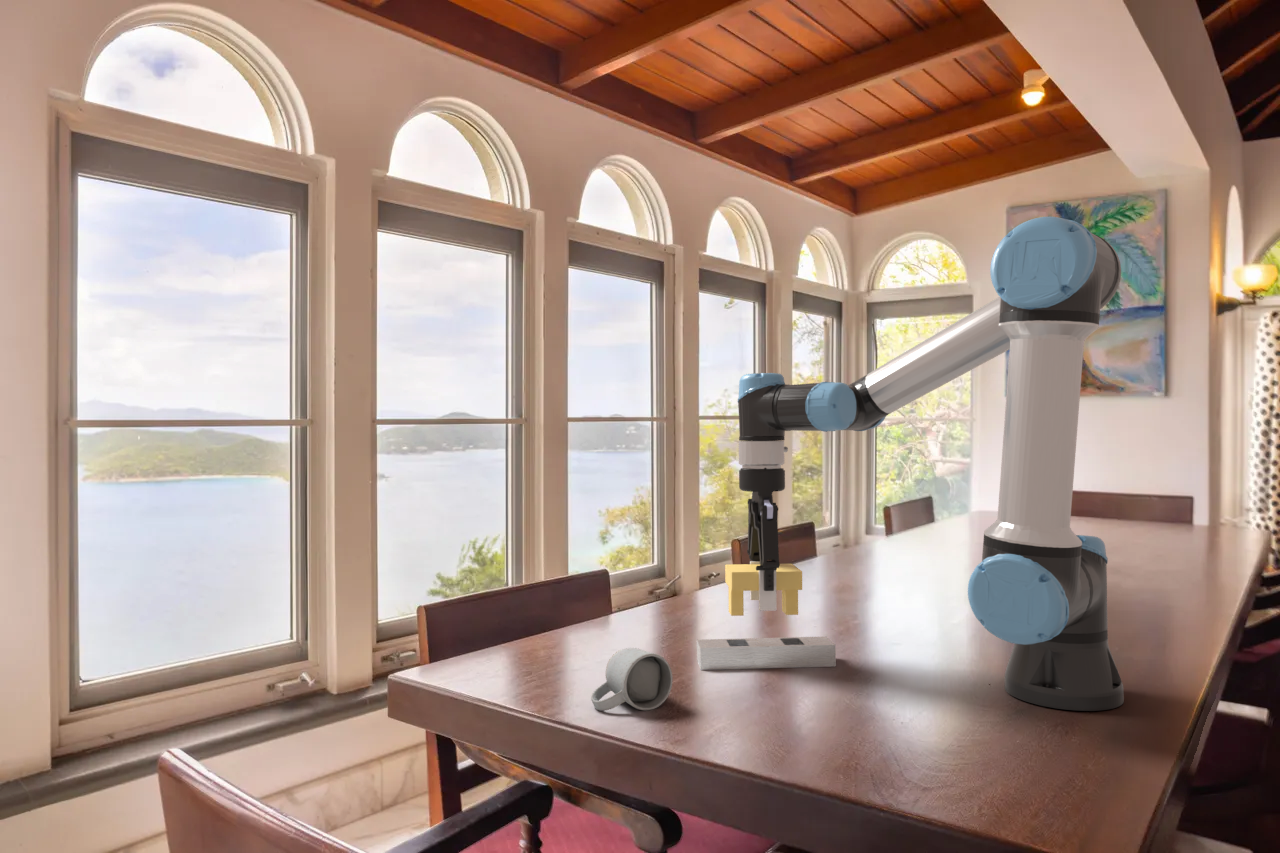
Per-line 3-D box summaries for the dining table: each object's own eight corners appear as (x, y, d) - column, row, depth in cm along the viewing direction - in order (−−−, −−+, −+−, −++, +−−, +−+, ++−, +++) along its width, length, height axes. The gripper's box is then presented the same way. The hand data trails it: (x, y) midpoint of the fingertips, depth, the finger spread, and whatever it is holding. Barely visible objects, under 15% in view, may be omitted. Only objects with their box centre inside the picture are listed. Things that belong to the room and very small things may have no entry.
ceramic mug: (646, 690, 124) (645, 638, 124) (674, 705, 117) (672, 650, 117) (581, 703, 119) (580, 649, 119) (606, 720, 112) (604, 663, 112)
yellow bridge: (802, 617, 134) (802, 571, 134) (732, 618, 133) (731, 572, 133) (792, 607, 141) (791, 563, 142) (725, 608, 141) (725, 564, 141)
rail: (835, 666, 135) (835, 644, 135) (700, 669, 134) (700, 648, 134) (826, 657, 140) (826, 636, 140) (697, 660, 140) (696, 639, 140)
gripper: (798, 469, 127) (799, 618, 127) (772, 464, 148) (773, 592, 148) (749, 470, 127) (750, 619, 127) (730, 464, 148) (731, 592, 148)
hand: (762, 604), depth 137 cm, fingers closed on yellow bridge, 8 cm apart
